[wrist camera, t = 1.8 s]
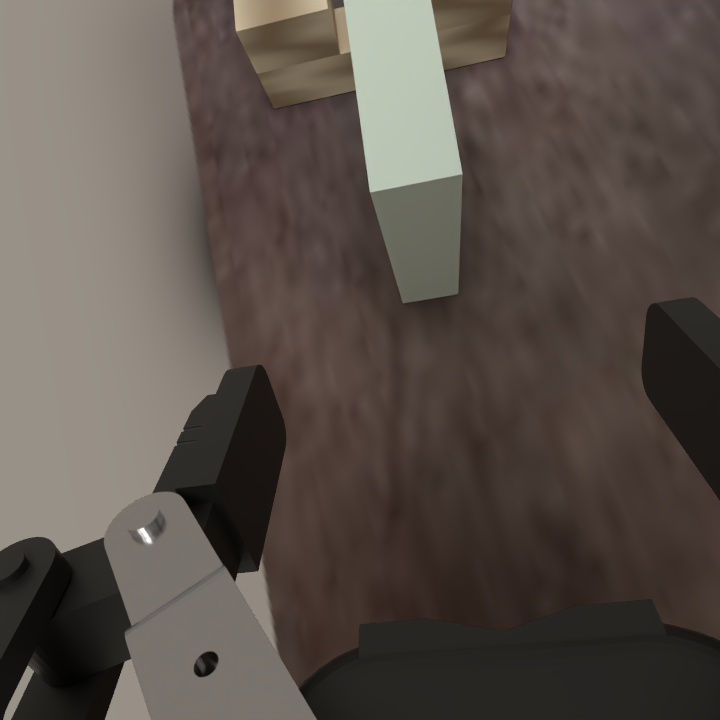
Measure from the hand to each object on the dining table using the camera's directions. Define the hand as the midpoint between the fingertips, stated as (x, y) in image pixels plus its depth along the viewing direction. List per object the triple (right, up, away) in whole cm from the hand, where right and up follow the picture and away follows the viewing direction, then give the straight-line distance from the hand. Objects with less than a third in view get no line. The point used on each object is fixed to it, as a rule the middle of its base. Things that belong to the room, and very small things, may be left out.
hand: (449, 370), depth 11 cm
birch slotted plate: (-1, +18, +21) cm, 28 cm away
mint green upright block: (+1, +8, +18) cm, 20 cm away
